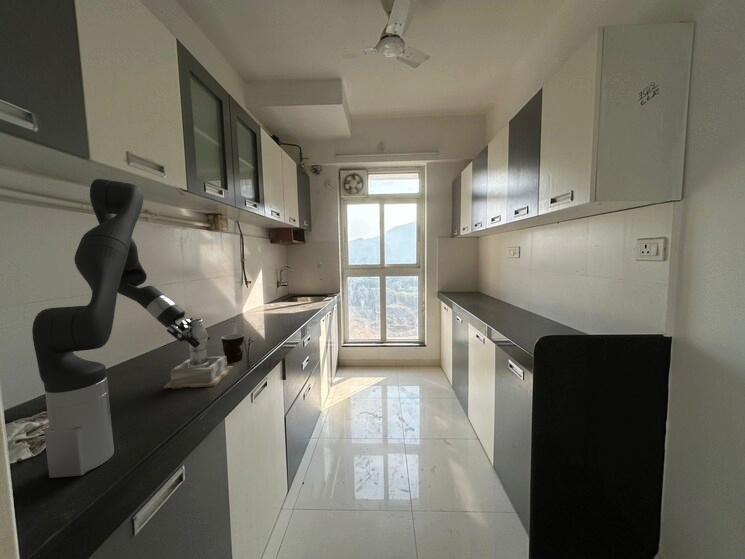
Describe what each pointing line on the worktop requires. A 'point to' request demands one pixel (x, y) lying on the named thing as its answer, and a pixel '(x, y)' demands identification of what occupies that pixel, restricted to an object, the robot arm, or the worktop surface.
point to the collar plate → (199, 374)
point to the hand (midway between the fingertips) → (203, 342)
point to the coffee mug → (233, 347)
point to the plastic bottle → (199, 353)
